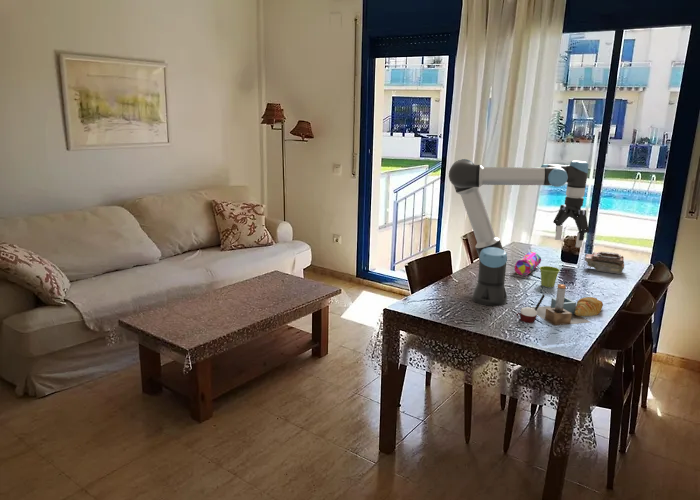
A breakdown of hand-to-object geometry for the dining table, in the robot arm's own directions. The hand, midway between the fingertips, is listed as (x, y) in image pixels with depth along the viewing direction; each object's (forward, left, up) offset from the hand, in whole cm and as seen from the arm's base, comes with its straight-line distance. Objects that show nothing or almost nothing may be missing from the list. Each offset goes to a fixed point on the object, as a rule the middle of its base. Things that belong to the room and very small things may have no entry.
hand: (567, 243), depth 240 cm
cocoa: (-32, -23, -26) cm, 47 cm away
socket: (-12, -17, -26) cm, 33 cm away
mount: (-20, -25, -26) cm, 41 cm away
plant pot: (+4, +17, -26) cm, 31 cm away
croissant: (0, -19, -26) cm, 32 cm away
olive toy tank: (+48, +32, -26) cm, 64 cm away
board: (-16, -20, -26) cm, 37 cm away
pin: (-20, -25, -25) cm, 41 cm away
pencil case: (+8, +41, -26) cm, 49 cm away
